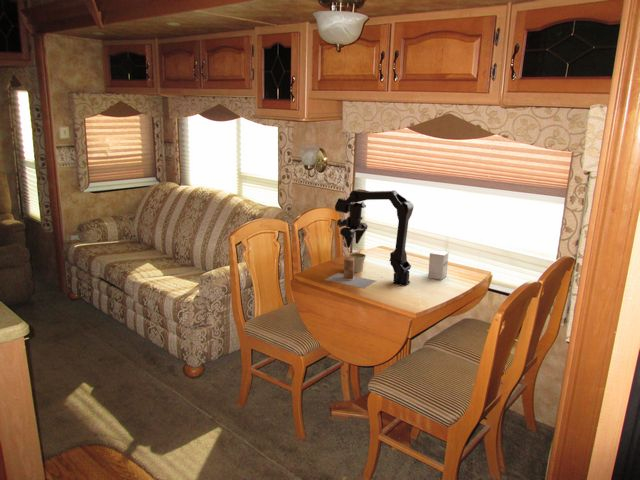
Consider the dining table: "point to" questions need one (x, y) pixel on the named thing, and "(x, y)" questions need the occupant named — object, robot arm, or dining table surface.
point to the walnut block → (349, 268)
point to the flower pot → (357, 261)
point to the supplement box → (438, 265)
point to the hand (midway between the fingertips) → (352, 245)
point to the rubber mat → (355, 282)
